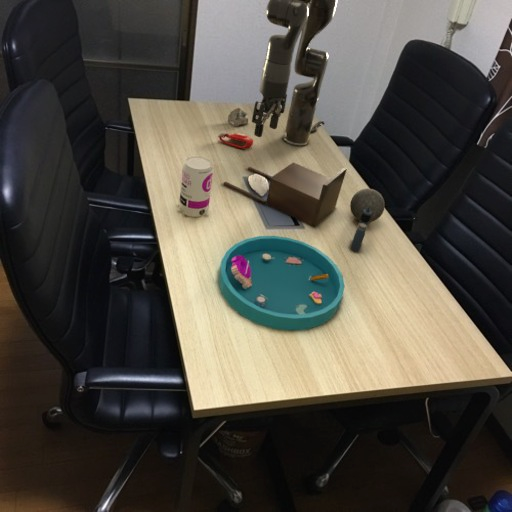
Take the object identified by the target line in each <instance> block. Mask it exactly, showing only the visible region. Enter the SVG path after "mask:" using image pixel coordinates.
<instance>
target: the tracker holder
mask: <svg viewBox="0 0 512 512" xmlns="http://www.w3.org/2000/svg"><path fill="white" fill-rule="evenodd" d="M217 138H218V139H219V140H220V142H222V143H223V144H226V145H227V146H228V145H229V146H232V147H235V148H238V149H243V150H244V149H245V150H246V149H250V148H251V147H252V146H253V145H254V139H252V138H251V137H249V136H248V135H247V134H243V133H232V134H230V132H222V133H220V134H218V135H217ZM224 138H227V139H230V140H236V141H239V142H243V143H245V145H244V146H242V145H239V144H236V143H232V142H229V141H227V140H225V139H224Z"/></svg>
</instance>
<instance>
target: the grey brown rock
mask: <svg viewBox="0 0 512 512" xmlns="http://www.w3.org/2000/svg"><path fill="white" fill-rule="evenodd" d="M248 114H249V113H247V112H245V110H242V108H240V107H237V108H235V109H233V110H232V111H230V113H229V114H228V116H227V122H229V123H230V124H231V125H232V126H234V127H239V126H241V125H248V124H249V118H248V117H246V116H247V115H248Z"/></svg>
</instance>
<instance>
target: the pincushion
mask: <svg viewBox="0 0 512 512" xmlns="http://www.w3.org/2000/svg"><path fill="white" fill-rule="evenodd" d="M257 170H258V171H260V170H259V169H257ZM253 172H254V171H253ZM253 172H252V173H253ZM262 172H263V174H264V173H265V171H262ZM267 175H268V174H267ZM267 175H266V176H267ZM247 181H248V183H249V186H250V187H251V189H252V190H253V191H255V193H257V194H258V195H259V196H261V197H264V195H265V194H266V193H268V191H269V186H270V183H269V180H268V179H266V178H265V177H262V176H260V175H258V174H255V173H253V174H251V175H249V176H248V180H247Z"/></svg>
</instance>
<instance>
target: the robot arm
mask: <svg viewBox="0 0 512 512" xmlns="http://www.w3.org/2000/svg"><path fill="white" fill-rule="evenodd" d="M337 4H338V0H268V3H267V5H266V9H265V14H266V18H267V20H268V22H269V23H271V24H273V25H275V26H279V27H281V28H285V29H288V30H287V32H286V34H273V35H271V36H270V37H269V39H268V43H267V47H266V54H265V59H264V63H263V68H262V73H261V79H260V86H259V93H260V94H261V95H262V99H261V101H258V100H256V101H255V103H254V107H253V112H252V117H251V123H253V124H254V125H255V127H254V132H253V134H254V136H255V137H257V138H261V137H262V136H263V133H264V127H265V123H266V121H267V120H268V119H269V118H270V121H269V126H268V127H269V128H270V129H273V130H276V129H277V128H278V123H279V120H280V119H279V118H280V117H281V116H282V114H284V113H285V109H286V103H287V99H288V94H287V92H288V89H289V88H288V87H289V84H290V83H289V82H290V77H291V72H292V63H293V59H294V58H293V57H294V52H295V48H296V45H297V42H298V40H299V42H298V47H297V51H296V54H295V60H294V65H293V66H294V67H293V69H294V73H295V74H296V75H298V76H301V77H305V78H310V79H312V80H309V81H307V82H302V83H298V84H295V86H294V87H293V89H292V94H291V95H292V96H291V100H290V106H289V110H288V115H287V120H286V125H285V129H283V140H284V141H285V142H286V143H288V144H290V145H293V146H298V147H301V146H302V147H303V146H307V145H308V144H309V139H310V134H312V133H314V132H316V131H317V130H318V126H319V125H321V124H322V125H325V124H326V123H325V122H324V121H323V120H320V121H318V122H316V123H315V124H314V126H313V122H314V118H315V114H316V110H317V105H318V101H319V97H320V91H321V87H322V84H323V80H324V76H325V74H326V70H327V66H328V63H329V54H328V52H327V51H324V50H321V49H317V48H311V47H309V46H310V44H311V43H312V41H313V40H314V39H315V38H316V37H317V36H318V34H320V33H321V32H323V30H324V29H325V28H327V26H329V25H330V23H331V22H332V20H333V18H334V16H335V13H336V8H337ZM312 127H314V128H313V129H312Z"/></svg>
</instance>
